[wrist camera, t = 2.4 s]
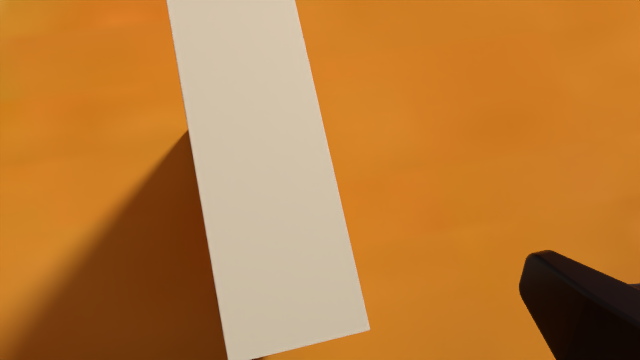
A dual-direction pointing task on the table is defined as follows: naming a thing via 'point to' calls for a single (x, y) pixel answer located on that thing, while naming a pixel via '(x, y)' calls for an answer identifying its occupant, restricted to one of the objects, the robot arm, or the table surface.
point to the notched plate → (264, 177)
